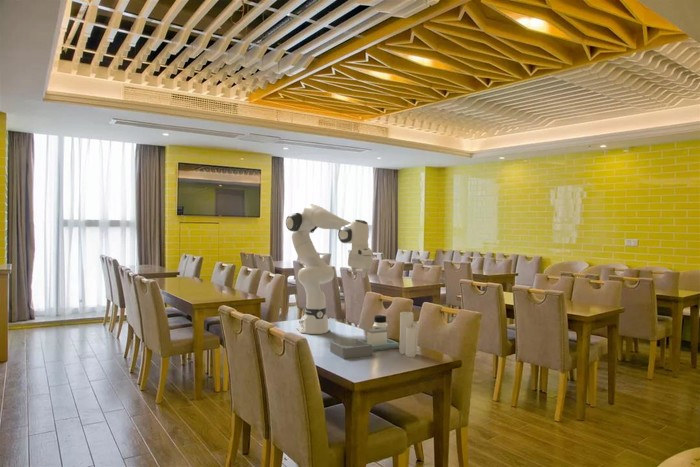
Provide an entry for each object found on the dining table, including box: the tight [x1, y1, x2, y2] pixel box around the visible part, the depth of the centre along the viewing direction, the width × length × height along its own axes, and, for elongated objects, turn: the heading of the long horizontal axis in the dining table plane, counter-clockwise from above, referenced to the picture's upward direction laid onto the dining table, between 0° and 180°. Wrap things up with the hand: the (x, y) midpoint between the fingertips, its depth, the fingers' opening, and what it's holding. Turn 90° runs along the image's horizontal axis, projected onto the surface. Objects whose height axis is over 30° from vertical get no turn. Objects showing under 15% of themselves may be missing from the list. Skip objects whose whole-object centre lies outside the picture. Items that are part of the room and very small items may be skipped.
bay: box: [329, 338, 373, 360], centre depth 243 cm, size 15×15×5 cm
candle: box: [398, 311, 419, 358], centre depth 244 cm, size 11×7×20 cm, turn 27°
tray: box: [360, 338, 400, 352], centre depth 257 cm, size 14×18×2 cm
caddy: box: [366, 328, 388, 346], centre depth 257 cm, size 5×9×8 cm, turn 118°
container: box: [371, 314, 389, 338], centre depth 276 cm, size 8×8×13 cm
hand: (359, 276), depth 261 cm, fingers open, 8 cm apart
